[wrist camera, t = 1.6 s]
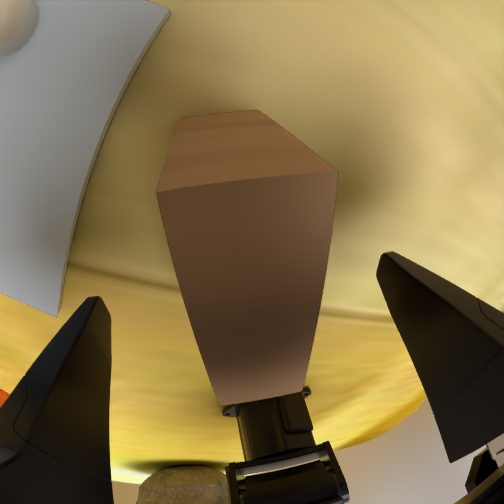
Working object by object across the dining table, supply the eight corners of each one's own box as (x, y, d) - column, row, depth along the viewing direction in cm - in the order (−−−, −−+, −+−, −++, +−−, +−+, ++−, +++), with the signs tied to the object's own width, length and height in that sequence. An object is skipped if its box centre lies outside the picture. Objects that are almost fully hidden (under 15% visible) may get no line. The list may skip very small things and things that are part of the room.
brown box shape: (263, 269, 15) (302, 391, 9) (204, 278, 15) (217, 406, 9) (257, 110, 10) (338, 171, 5) (178, 118, 10) (151, 192, 4)
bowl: (160, 476, 48) (164, 512, 40) (110, 457, 35) (112, 506, 27) (246, 468, 49) (254, 506, 41) (220, 452, 36) (230, 508, 28)
